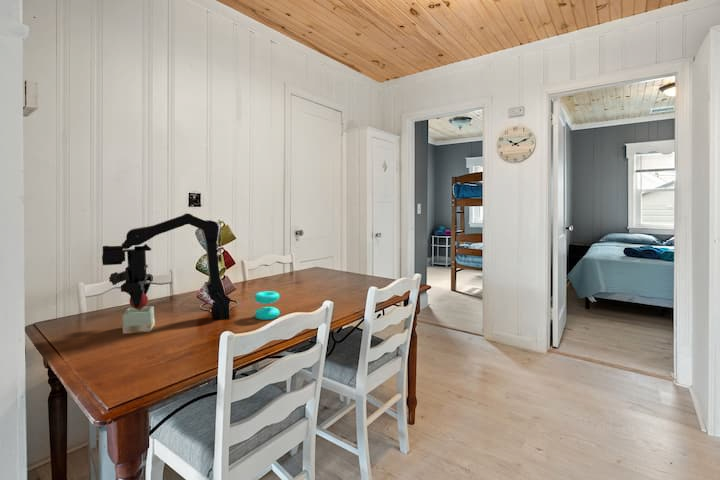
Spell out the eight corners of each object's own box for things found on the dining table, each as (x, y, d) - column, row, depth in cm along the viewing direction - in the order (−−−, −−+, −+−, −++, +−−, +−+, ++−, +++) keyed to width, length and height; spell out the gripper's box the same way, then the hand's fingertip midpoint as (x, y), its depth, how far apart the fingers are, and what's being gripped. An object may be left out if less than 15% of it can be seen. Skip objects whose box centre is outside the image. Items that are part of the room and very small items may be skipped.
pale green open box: (154, 317, 143) (153, 306, 142) (150, 324, 135) (149, 312, 135) (128, 319, 140) (128, 308, 140) (123, 326, 132) (122, 314, 132)
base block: (154, 325, 143) (154, 317, 143) (150, 332, 135) (149, 324, 135) (129, 327, 140) (129, 319, 140) (123, 334, 132) (122, 326, 132)
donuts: (259, 297, 146) (250, 292, 154) (260, 322, 147) (251, 316, 155) (283, 294, 152) (273, 289, 160) (283, 318, 153) (273, 312, 161)
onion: (139, 313, 134) (138, 291, 133) (126, 311, 135) (124, 290, 134) (151, 308, 140) (150, 287, 139) (138, 307, 141) (137, 286, 140)
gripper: (119, 260, 142) (121, 300, 144) (101, 268, 124) (104, 314, 126) (152, 259, 145) (154, 298, 147) (139, 267, 128) (141, 311, 129)
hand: (139, 305), depth 137 cm, fingers closed on onion, 6 cm apart
